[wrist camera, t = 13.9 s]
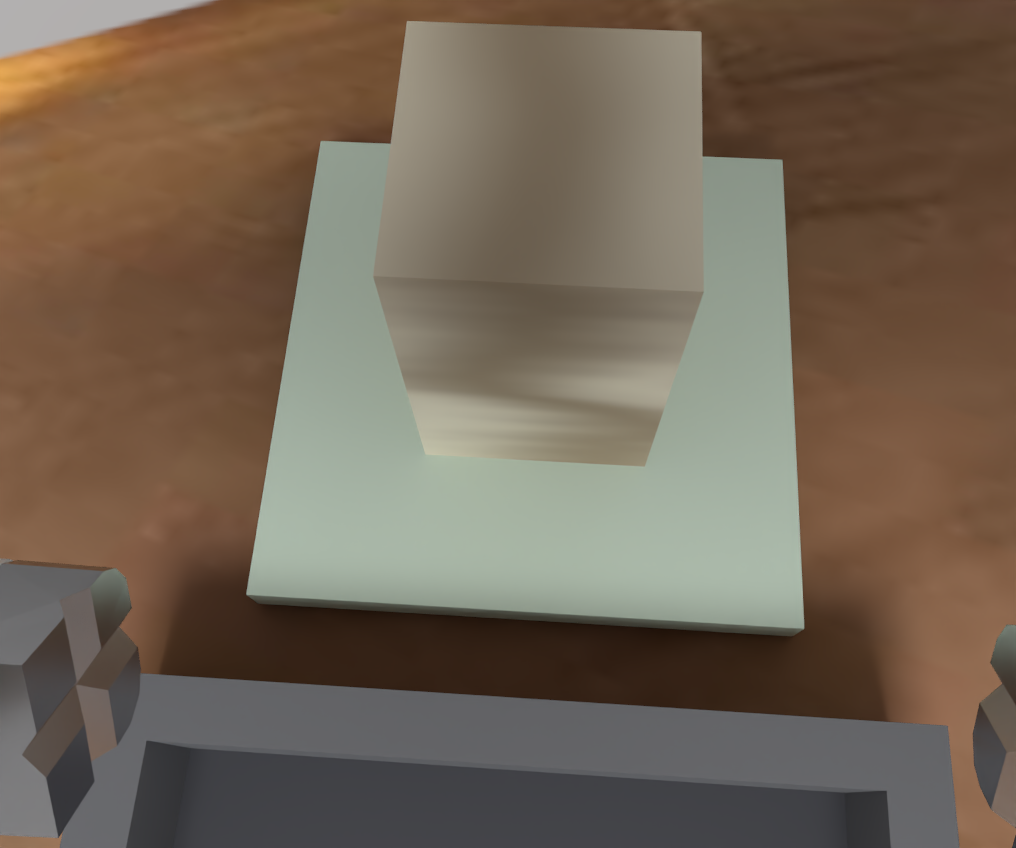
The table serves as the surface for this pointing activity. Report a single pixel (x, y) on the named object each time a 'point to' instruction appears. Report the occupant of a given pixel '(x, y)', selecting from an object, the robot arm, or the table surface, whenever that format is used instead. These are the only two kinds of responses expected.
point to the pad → (538, 484)
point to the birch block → (542, 236)
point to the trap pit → (502, 774)
